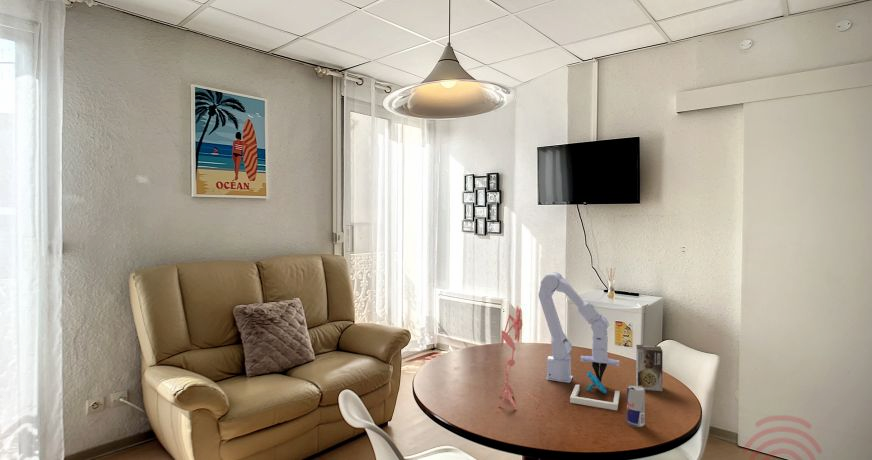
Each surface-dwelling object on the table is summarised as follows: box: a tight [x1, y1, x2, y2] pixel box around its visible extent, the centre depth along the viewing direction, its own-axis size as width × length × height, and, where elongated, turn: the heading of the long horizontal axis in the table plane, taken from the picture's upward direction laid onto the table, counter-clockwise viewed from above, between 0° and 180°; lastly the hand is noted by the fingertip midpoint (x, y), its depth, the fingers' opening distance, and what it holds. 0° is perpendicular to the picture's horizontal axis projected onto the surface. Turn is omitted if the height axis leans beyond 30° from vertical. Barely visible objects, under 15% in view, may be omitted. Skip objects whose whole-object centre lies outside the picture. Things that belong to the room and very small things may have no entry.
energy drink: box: [626, 384, 646, 428], centre depth 149 cm, size 5×5×12 cm
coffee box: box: [635, 344, 664, 392], centre depth 181 cm, size 9×6×16 cm
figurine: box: [495, 305, 539, 414], centre depth 165 cm, size 15×26×35 cm, turn 171°
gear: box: [585, 370, 608, 394], centre depth 177 cm, size 11×6×10 cm
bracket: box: [569, 383, 621, 411], centre depth 169 cm, size 16×14×2 cm
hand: (599, 381), depth 183 cm, fingers closed
